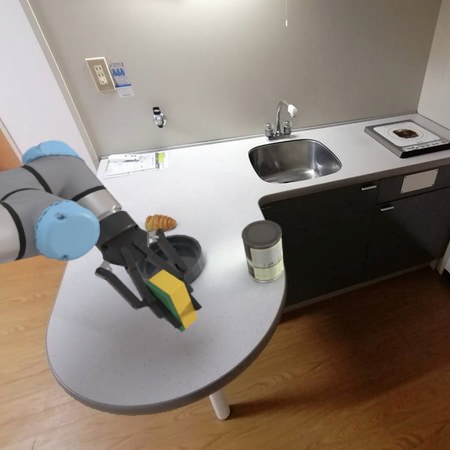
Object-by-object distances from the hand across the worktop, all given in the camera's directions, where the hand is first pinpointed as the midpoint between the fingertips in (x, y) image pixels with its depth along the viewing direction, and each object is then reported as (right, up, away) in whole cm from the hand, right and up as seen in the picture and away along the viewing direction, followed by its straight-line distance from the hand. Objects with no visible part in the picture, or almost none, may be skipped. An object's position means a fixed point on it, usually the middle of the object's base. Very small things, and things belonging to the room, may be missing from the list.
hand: (188, 317), depth 58 cm
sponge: (-3, -1, +4) cm, 5 cm away
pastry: (-26, +17, +44) cm, 54 cm away
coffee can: (+12, +5, +29) cm, 32 cm away
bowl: (-15, +5, +30) cm, 34 cm away
